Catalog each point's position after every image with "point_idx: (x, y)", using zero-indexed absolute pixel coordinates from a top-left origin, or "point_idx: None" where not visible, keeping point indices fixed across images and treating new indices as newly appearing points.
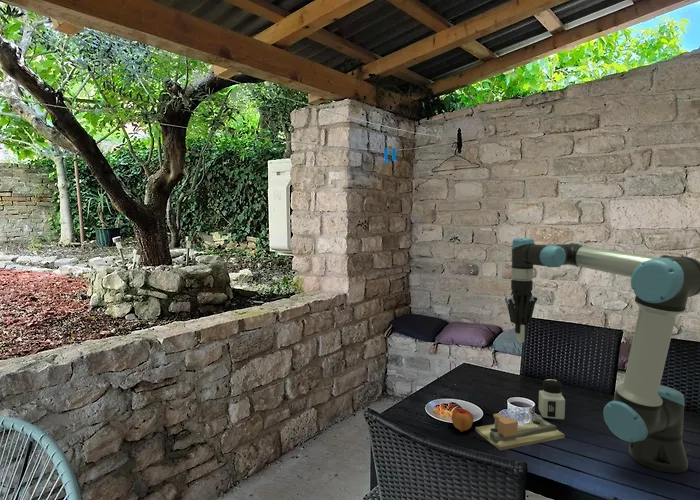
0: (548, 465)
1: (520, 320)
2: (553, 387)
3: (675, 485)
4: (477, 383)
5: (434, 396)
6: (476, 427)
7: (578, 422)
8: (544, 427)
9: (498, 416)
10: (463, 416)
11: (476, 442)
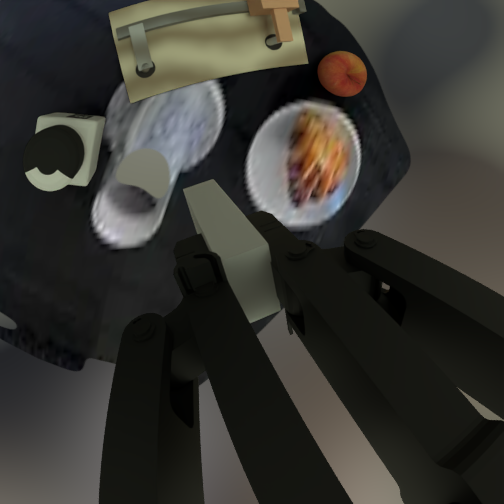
0: None
1: (313, 282)
2: (58, 127)
3: None
4: None
5: (319, 234)
6: (305, 62)
7: (30, 101)
8: (151, 22)
9: (286, 26)
10: (356, 56)
11: (319, 22)
